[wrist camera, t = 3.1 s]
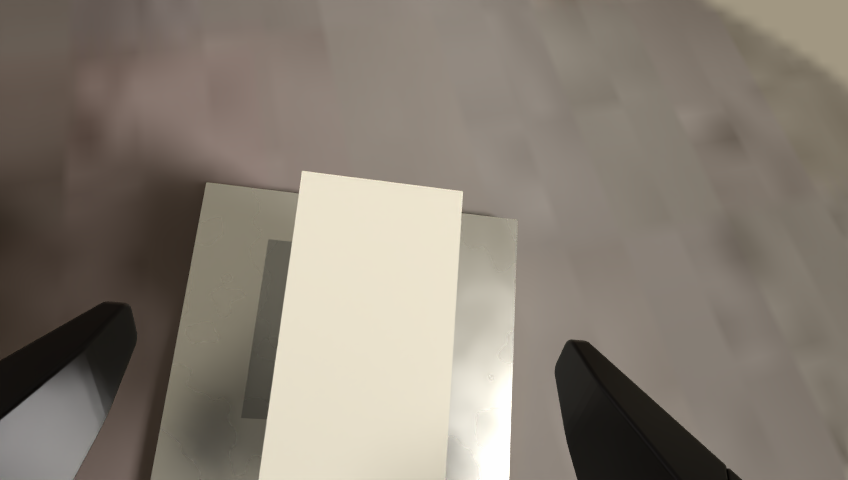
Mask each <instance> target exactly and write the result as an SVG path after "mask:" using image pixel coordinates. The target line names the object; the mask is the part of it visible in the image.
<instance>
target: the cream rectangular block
mask: <svg viewBox="0 0 848 480" xmlns="http://www.w3.org/2000/svg"><path fill="white" fill-rule="evenodd" d="M462 198H463V191H455V190H448V189H440V188H432V187H424V186H416V185H408V184H401V183H393V182H385V181H377V180H369V179H361V178H354V177H346V176H338V175H330V174H322V173H314V172H307V171H302V176H301V183H300V190H299V197H298V204H297V211H296V219H295V226H294V233H293V240H292V247H291V254H290V261H289V268H288V275H287V282H286V289H285V296H284V303H283V310H282V317H281V325H280V332H279V339H278V346H277V353H276V360H275V367H274V374H273V381H272V388H271V395H270V402H269V409H268V416H267V424H266V431H265V438H264V445H263V452H262V459H261V466H260V473H259V480H445V475H446V459H447V443H448V426H449V410H450V394H451V377H452V361H453V345H454V329H455V312H456V296H457V280H458V263H459V247H460V231H461V215H462Z"/></svg>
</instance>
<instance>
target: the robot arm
mask: <svg viewBox="0 0 848 480" xmlns="http://www.w3.org/2000/svg"><path fill="white" fill-rule="evenodd" d="M136 341H137V331H136V327H135V323H134V318H133V314H132V310H131V307H130V306H129V304H127V303H121V302H109V301H108V302H103V303H101V304H99V305H97V306H95V307H94V308H92V309H90V310H88V311H87V312H85V313H83V314H81V315H80V316H78V317H76V318H74V319H73V320H71V321H69V322H67V323H66V324H64V325H62V326H60V327H59V328H57V329H55V330H53V331H52V332H50V333H48V334H46V335H45V336H43V337H41V338H39V339H37V340H36V341H34V342H32V343H30V344H29V345H27V346H25V347H23V348H22V349H20V350H18V351H16V352H15V353H13V354H11V355H9V356H8V357H6V358H4V359H2V360H1V361H0V480H73V479H74V477H75V476H76V474H77V472H78V470H79V468H80V466H81V464H82V463H83V461H84V459H85V457H86V455H87V453H88V451H89V449H90V448H91V446H92V444H93V442H94V440H95V438H96V436H97V435H98V433H99V431H100V429H101V427H102V425H103V423H104V421H105V419H106V417H107V415H108V412H109V410H110V408H111V405H112V403H113V400H114V398H115V395H116V393H117V390H118V388H119V385H120V383H121V380H122V378H123V375H124V373H125V370H126V368H127V365H128V363H129V360H130V358H131V355H132V353H133V350H134V348H135V345H136ZM555 378H556V384H557V390H558V396H559V402H560V407H561V413H562V419H563V425H564V430H565V435H566V440H567V444H568V448H569V452H570V455H571V459H572V462H573V466H574V469H575V473H576V476H577V480H742V479H741V478H740V477H738V476H737V475H736V474H735V473H734V472H733V471H732V470H731V469H727V468H726V465H725V464H724V463H723V462H722V461H720V460H719V459H718V458H717V457H716V456H715V455H714V454H713V453H711V452H710V451H709V450H708V449H707V448H706V447H705V446H704V445H703V444H701V443H700V442H699V441H698V440H697V439H696V438H695V437H694V436H693V435H691V434H690V433H689V432H688V431H687V430H686V429H685V428H684V427H683V426H681V425H680V424H679V423H678V422H677V421H676V420H675V419H674V418H672V417H671V416H670V415H669V414H668V413H667V412H666V411H665V410H664V409H662V408H661V407H660V406H659V405H658V404H657V403H656V402H655V401H654V400H652V399H651V398H650V397H649V396H648V395H647V394H646V393H645V392H644V391H642V390H641V389H640V388H639V387H638V386H637V385H636V384H635V383H633V382H632V381H631V380H630V379H629V378H628V377H627V376H626V375H625V374H623V373H622V372H621V371H620V370H619V369H618V368H617V367H616V366H615V365H613V364H612V363H611V362H610V361H609V360H608V359H607V358H606V357H605V356H603V355H602V354H601V353H600V352H599V351H598V350H597V349H596V348H594V347H593V346H592V345H591V344H590V343H589V342H587V341H583V340H569V341H567V342H566V344H565V346H564V348H563V350H562V352H561V354H560V356H559V359H558V361H557V363H556V366H555Z"/></svg>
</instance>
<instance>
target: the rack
mask: <svg viewBox="0 0 848 480" xmlns="http://www.w3.org/2000/svg"><path fill="white" fill-rule="evenodd" d="M298 197H299V193H291V192H283V191H275V190H266V189H258V188H250V187H242V186H233V185H225V184H217V183H208V182H206V187H205V192H204V197H203V203H202V208H201V213H200V219H199V224H198V229H197V235H196V240H195V245H194V251H193V256H192V261H191V267H190V272H189V277H188V283H187V288H186V293H185V299H184V304H183V309H182V315H181V320H180V325H179V331H178V336H177V341H176V347H175V352H174V357H173V363H172V368H171V373H170V379H169V384H168V389H167V394H166V400H165V405H164V410H163V416H162V421H161V426H160V432H159V437H158V442H157V448H156V453H155V458H154V464H153V469H152V474H151V480H259V473H260V466H261V459H262V452H263V445H264V438H265V431H266V424H267V416H268V409H269V402H270V395H271V388H272V381H273V374H274V367H275V360H276V353H277V346H278V339H279V332H280V325H281V317H282V310H283V303H284V296H285V289H286V282H287V275H288V268H289V261H290V254H291V247H292V240H293V233H294V226H295V219H296V211H297V204H298ZM517 224H518V220H515V219H507V218H499V217H490V216H482V215H474V214H465V213H462V215H461V231H460V247H459V263H458V280H457V296H456V312H455V329H454V345H453V361H452V377H451V394H450V410H449V426H448V443H447V459H446V475H445V480H509V458H510V429H511V400H512V370H513V341H514V312H515V282H516V253H517Z"/></svg>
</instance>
